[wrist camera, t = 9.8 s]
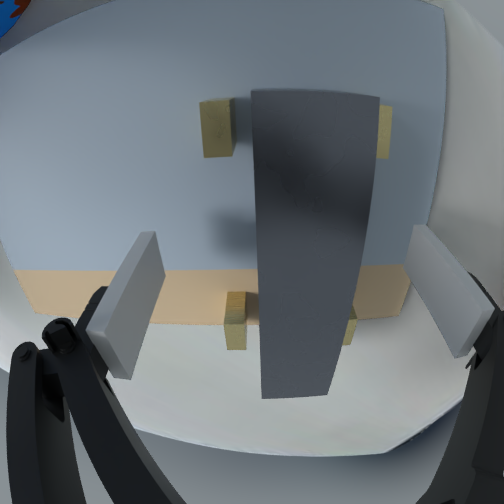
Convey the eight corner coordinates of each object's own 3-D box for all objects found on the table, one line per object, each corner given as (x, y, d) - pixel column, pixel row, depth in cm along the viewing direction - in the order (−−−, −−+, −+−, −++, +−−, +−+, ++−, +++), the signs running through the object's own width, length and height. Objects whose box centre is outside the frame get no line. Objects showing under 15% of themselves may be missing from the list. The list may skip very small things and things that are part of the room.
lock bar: (252, 88, 13) (250, 91, 8) (333, 90, 13) (379, 97, 8) (261, 328, 21) (261, 398, 16) (314, 326, 21) (327, 394, 16)
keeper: (230, 317, 21) (227, 349, 18) (210, 98, 13) (199, 102, 10) (341, 313, 20) (350, 344, 18) (368, 101, 13) (392, 106, 10)
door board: (39, 306, 23) (35, 312, 22) (-26, 77, 11) (-35, 79, 10) (394, 307, 22) (398, 315, 21) (434, 11, 10) (443, 8, 9)
